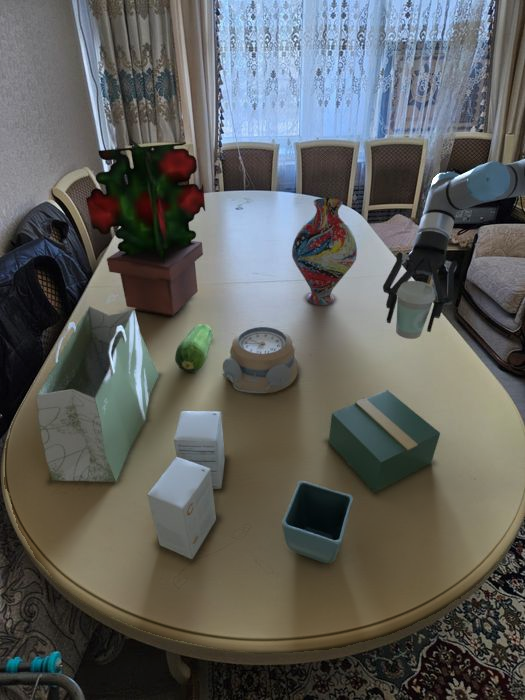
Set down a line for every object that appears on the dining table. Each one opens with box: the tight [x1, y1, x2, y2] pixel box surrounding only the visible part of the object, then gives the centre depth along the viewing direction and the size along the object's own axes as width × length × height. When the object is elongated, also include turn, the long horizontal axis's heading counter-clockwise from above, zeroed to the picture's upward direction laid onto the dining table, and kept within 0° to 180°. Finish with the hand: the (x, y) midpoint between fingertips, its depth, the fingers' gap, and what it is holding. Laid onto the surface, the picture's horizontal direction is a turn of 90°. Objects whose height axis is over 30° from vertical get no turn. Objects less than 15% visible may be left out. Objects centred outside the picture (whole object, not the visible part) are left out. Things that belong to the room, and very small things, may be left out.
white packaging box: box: [173, 410, 226, 490], centre depth 80 cm, size 7×7×13 cm
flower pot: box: [281, 480, 354, 564], centre depth 69 cm, size 9×9×9 cm
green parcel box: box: [328, 389, 441, 493], centre depth 86 cm, size 14×14×8 cm
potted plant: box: [85, 139, 206, 317], centre depth 125 cm, size 22×22×45 cm
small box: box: [146, 456, 217, 560], centre depth 70 cm, size 8×6×13 cm
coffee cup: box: [395, 280, 436, 340], centre depth 105 cm, size 8×8×12 cm
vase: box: [291, 197, 358, 306], centre depth 132 cm, size 19×19×30 cm
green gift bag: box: [36, 305, 160, 483], centre depth 89 cm, size 32×14×23 cm, turn 178°
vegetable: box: [174, 323, 214, 372], centre depth 114 cm, size 7×7×20 cm
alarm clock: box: [222, 326, 299, 394], centre depth 105 cm, size 17×9×23 cm
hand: (408, 325), depth 104 cm, fingers closed on coffee cup, 8 cm apart
